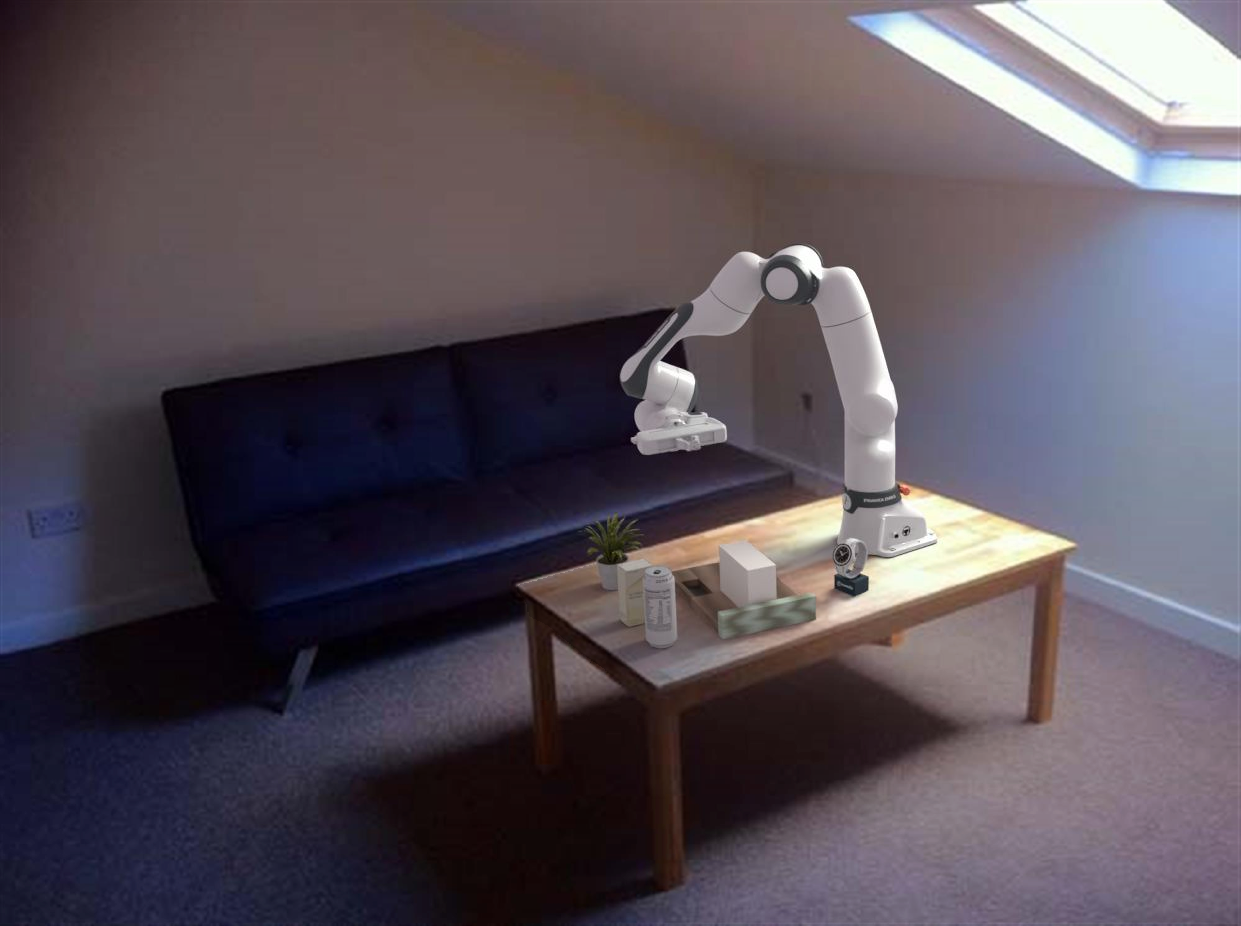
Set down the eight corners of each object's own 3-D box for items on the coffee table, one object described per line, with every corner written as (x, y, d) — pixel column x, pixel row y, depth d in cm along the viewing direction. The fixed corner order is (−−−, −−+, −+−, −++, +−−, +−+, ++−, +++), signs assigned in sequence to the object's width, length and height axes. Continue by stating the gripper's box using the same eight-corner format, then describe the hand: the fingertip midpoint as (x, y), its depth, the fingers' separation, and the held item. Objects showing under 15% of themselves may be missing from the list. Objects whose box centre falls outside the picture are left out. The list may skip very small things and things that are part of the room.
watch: (827, 591, 231) (827, 542, 228) (853, 579, 236) (853, 531, 232) (848, 599, 227) (849, 549, 223) (874, 587, 232) (875, 538, 228)
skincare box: (628, 627, 221) (624, 571, 217) (619, 619, 225) (615, 563, 221) (656, 620, 223) (653, 564, 219) (647, 612, 227) (644, 557, 223)
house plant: (605, 608, 230) (600, 534, 225) (565, 588, 240) (559, 518, 235) (657, 586, 238) (653, 515, 233) (616, 568, 249) (612, 500, 244)
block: (746, 584, 232) (745, 540, 229) (776, 611, 219) (775, 564, 216) (720, 590, 230) (718, 545, 227) (748, 617, 217) (747, 570, 214)
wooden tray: (751, 564, 247) (750, 543, 245) (815, 619, 219) (815, 596, 218) (666, 580, 241) (665, 559, 239) (722, 639, 214) (721, 615, 212)
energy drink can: (681, 636, 216) (678, 565, 211) (671, 651, 210) (667, 578, 206) (652, 633, 218) (648, 562, 213) (641, 647, 213) (637, 575, 208)
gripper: (627, 424, 249) (648, 440, 237) (711, 410, 255) (736, 425, 242) (629, 451, 251) (650, 468, 239) (712, 437, 257) (737, 453, 244)
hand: (694, 446), depth 241 cm, fingers closed
